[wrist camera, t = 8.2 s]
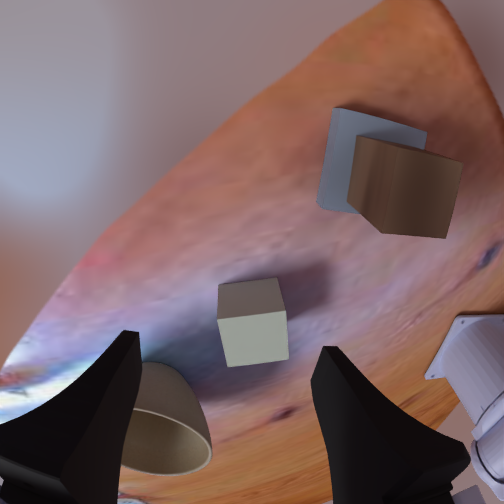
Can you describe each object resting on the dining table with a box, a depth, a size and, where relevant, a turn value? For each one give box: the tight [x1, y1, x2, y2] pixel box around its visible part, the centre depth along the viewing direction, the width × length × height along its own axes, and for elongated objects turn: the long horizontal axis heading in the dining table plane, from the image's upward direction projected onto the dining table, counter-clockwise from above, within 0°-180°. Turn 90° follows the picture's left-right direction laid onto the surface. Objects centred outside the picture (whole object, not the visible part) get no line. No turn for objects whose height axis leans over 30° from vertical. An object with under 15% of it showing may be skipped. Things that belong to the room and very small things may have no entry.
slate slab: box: [316, 108, 427, 214], centre depth 19 cm, size 6×6×2 cm
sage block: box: [217, 277, 289, 367], centre depth 21 cm, size 4×4×4 cm
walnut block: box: [346, 135, 463, 239], centre depth 16 cm, size 4×4×5 cm
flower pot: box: [121, 362, 212, 476], centre depth 23 cm, size 10×10×7 cm
